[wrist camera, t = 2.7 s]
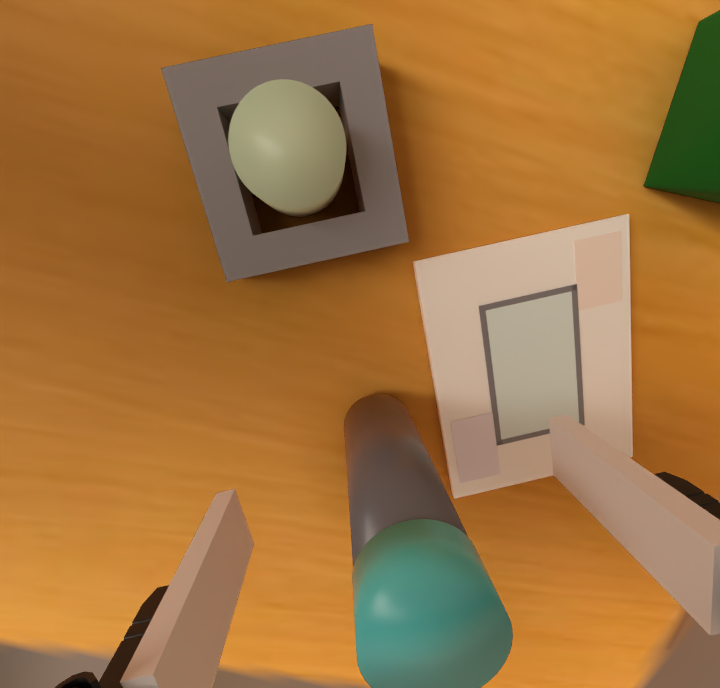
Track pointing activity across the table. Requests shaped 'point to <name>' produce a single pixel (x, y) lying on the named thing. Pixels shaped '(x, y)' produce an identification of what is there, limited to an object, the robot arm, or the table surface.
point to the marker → (414, 563)
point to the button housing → (363, 138)
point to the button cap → (288, 146)
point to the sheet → (528, 348)
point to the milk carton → (693, 123)
